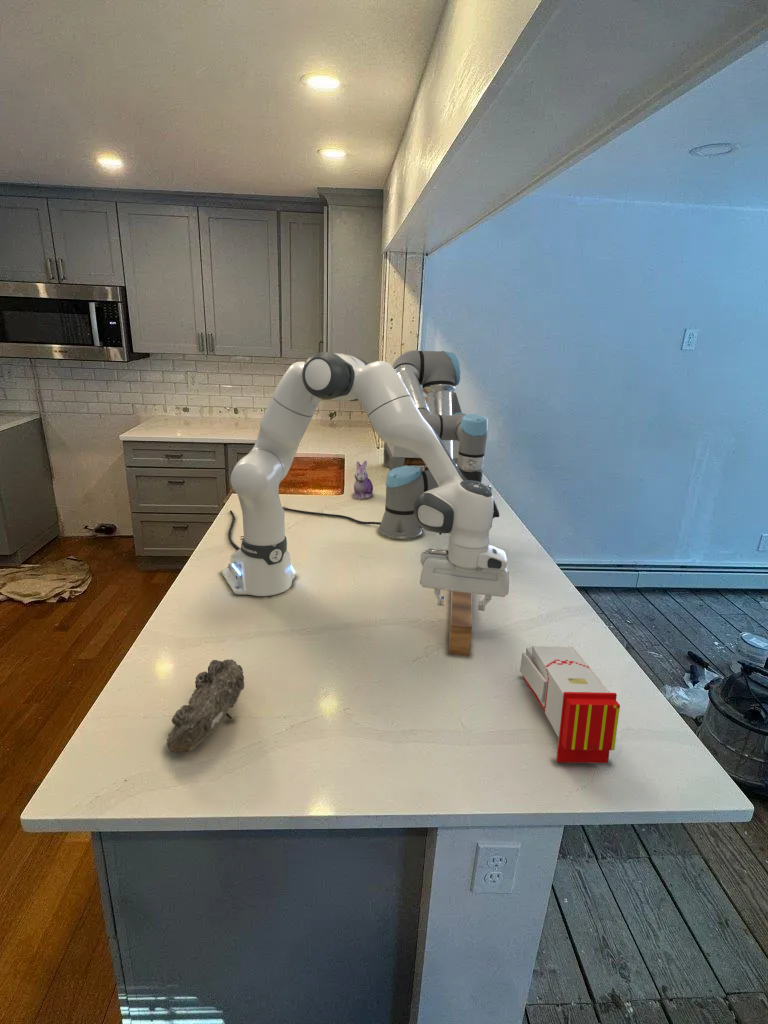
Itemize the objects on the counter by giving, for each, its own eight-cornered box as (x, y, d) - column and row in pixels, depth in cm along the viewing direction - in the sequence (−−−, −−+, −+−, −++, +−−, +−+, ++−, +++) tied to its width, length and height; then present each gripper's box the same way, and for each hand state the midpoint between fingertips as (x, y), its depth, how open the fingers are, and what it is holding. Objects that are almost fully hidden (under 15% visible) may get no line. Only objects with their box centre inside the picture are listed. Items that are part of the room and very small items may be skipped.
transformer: (382, 463, 289) (386, 382, 275) (445, 464, 293) (451, 384, 279) (390, 482, 257) (394, 392, 243) (460, 483, 261) (468, 394, 247)
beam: (452, 560, 181) (454, 537, 178) (467, 561, 180) (469, 538, 178) (448, 654, 131) (451, 624, 129) (469, 656, 131) (472, 627, 128)
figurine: (357, 501, 231) (358, 465, 226) (347, 493, 240) (348, 459, 235) (378, 498, 235) (379, 463, 230) (367, 491, 244) (368, 457, 239)
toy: (568, 628, 125) (630, 701, 96) (562, 684, 128) (620, 770, 99) (514, 627, 125) (559, 699, 96) (509, 683, 128) (551, 770, 98)
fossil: (192, 660, 117) (244, 628, 112) (224, 691, 120) (276, 661, 115) (142, 746, 98) (202, 712, 93) (182, 779, 101) (242, 748, 96)
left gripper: (420, 553, 125) (415, 608, 130) (514, 564, 123) (505, 619, 128) (422, 542, 131) (417, 595, 136) (512, 552, 129) (503, 605, 134)
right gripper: (426, 468, 163) (421, 535, 171) (514, 476, 161) (504, 544, 168) (427, 461, 170) (422, 526, 178) (512, 468, 168) (503, 534, 175)
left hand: (460, 607), depth 132 cm, fingers open, 8 cm apart
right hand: (462, 535), depth 173 cm, fingers open, 13 cm apart
